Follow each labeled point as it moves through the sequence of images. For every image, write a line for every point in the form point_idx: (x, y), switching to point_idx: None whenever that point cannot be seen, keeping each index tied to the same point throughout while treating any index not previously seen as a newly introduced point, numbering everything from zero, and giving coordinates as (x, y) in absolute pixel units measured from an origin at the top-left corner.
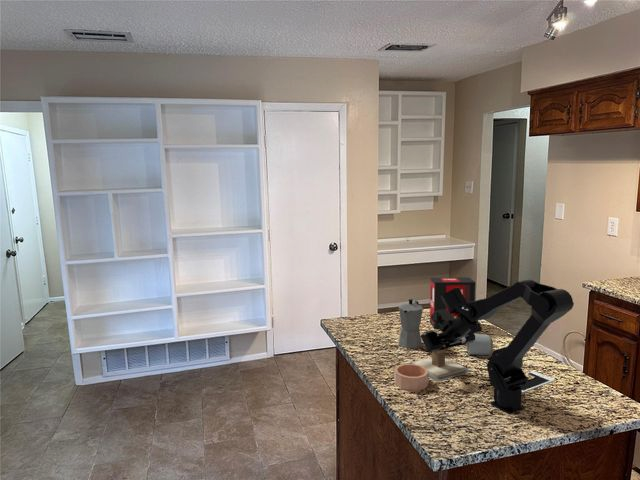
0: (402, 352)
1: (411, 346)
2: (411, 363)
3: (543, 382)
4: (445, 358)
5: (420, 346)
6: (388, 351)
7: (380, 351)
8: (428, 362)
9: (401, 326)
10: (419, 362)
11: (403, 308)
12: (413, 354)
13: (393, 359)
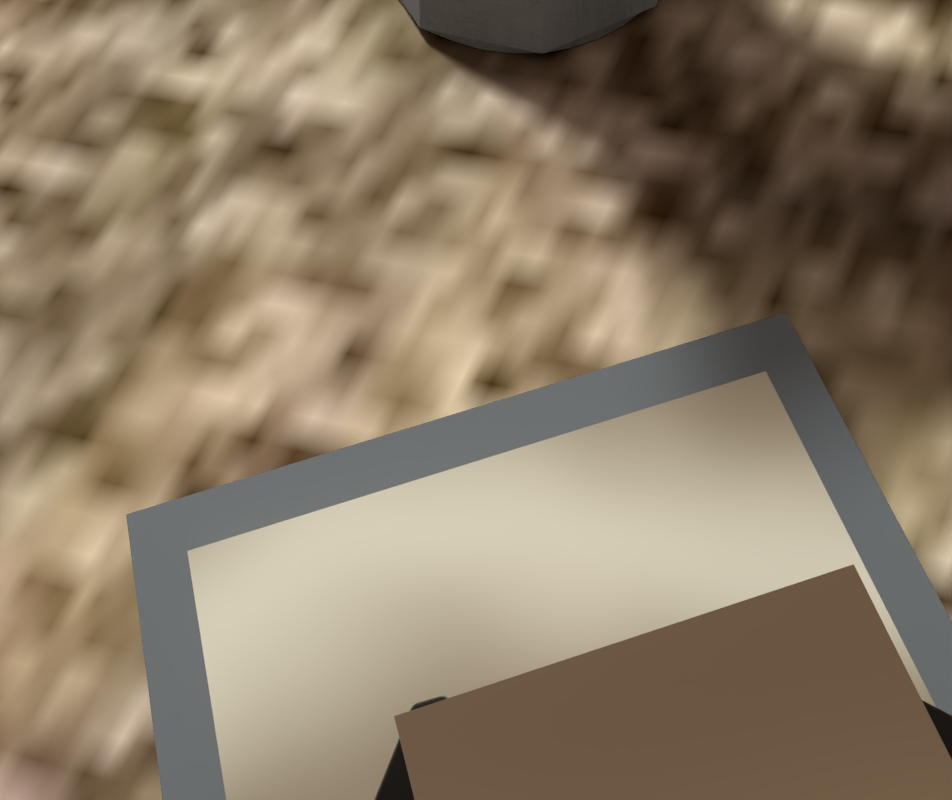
0: (329, 107)
1: (486, 12)
2: (225, 499)
3: None
4: (832, 533)
5: (626, 10)
6: (176, 55)
7: (85, 40)
8: (452, 626)
9: None
10: (297, 588)
11: None
12: (441, 184)
13: (98, 276)
